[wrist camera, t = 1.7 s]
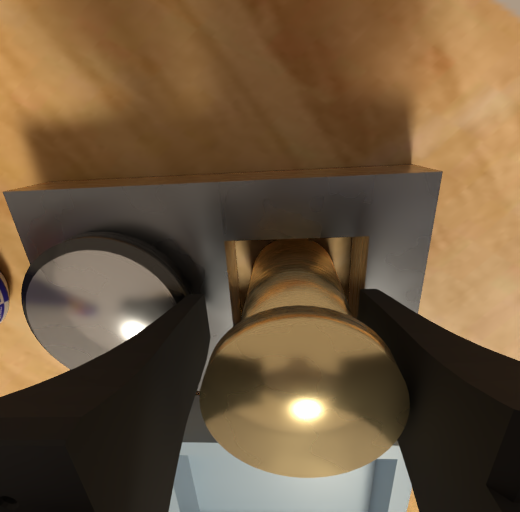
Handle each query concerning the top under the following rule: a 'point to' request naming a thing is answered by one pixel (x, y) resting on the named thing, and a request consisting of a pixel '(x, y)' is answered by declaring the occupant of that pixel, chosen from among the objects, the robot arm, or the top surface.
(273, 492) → the tray
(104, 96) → the top surface
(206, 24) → the top surface
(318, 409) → the lock pin
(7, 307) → the beverage can
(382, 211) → the block
